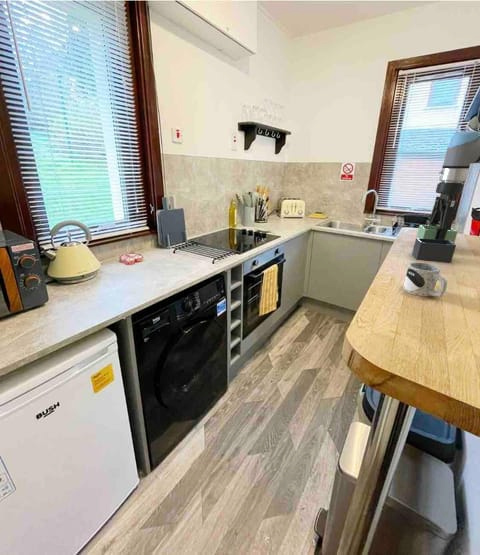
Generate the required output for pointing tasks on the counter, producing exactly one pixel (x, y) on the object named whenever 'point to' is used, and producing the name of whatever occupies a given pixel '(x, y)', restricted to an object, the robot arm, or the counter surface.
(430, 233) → the green basket
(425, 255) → the charcoal basket
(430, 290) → the mug
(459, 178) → the robot arm
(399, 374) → the counter surface
